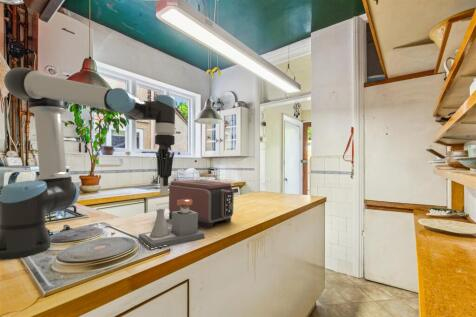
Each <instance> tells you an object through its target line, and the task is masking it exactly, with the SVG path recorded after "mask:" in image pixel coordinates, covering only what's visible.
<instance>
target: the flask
mask: <svg viewBox="0 0 476 317" xmlns="http://www.w3.org/2000/svg"><path fill="white" fill-rule="evenodd" d="M165 210H166V209H165V208H157V209H156V210H155V212H156V218H155V221H154V224H153V227H152V229H151V231H150V232H151V234H150V236H153V237H164V236H167V235H169V233H170V232H169V230H168V229H169V227H168V224H167V221H166V219H165V218H166V217H165Z"/></svg>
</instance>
